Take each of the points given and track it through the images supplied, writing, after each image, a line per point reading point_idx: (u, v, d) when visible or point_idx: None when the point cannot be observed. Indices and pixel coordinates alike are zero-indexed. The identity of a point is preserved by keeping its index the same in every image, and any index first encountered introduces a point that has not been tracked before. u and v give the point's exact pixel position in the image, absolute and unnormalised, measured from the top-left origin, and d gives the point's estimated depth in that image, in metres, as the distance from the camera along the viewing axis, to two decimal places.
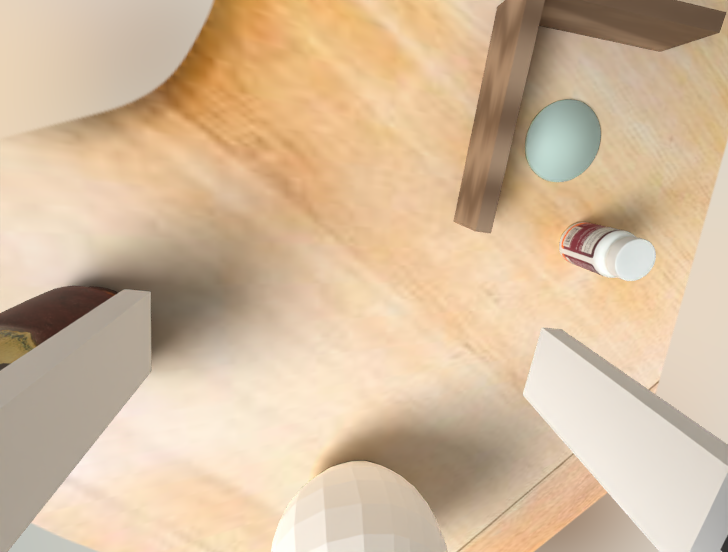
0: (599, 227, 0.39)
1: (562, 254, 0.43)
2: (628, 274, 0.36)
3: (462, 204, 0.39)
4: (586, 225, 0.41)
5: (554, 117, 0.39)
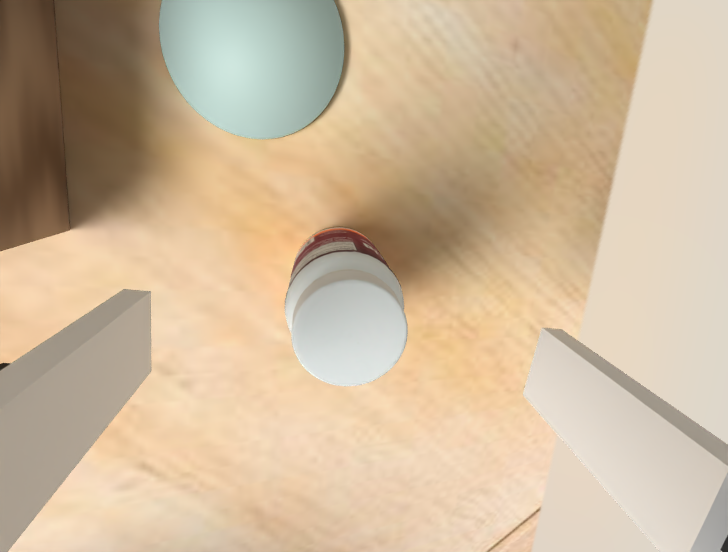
0: (329, 241, 0.17)
1: None
2: (337, 371, 0.13)
3: None
4: (324, 235, 0.18)
5: None
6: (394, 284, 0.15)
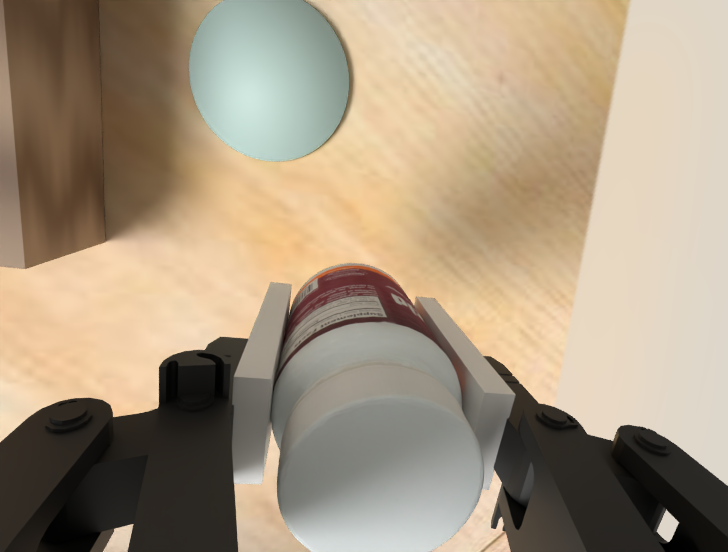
0: (341, 294, 0.11)
1: None
2: (359, 546, 0.08)
3: None
4: (333, 279, 0.13)
5: (239, 28, 0.19)
6: (449, 375, 0.09)
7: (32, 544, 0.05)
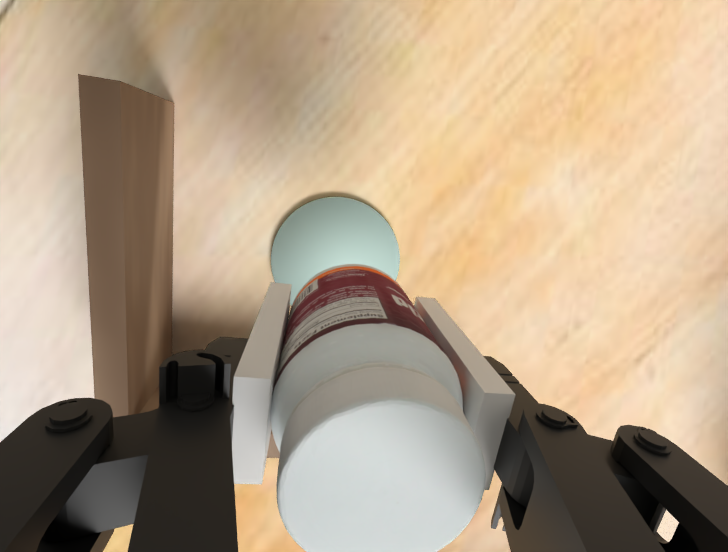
0: (341, 295, 0.11)
1: None
2: (360, 550, 0.08)
3: None
4: (333, 280, 0.13)
5: (300, 284, 0.24)
6: (450, 377, 0.09)
7: (31, 544, 0.05)
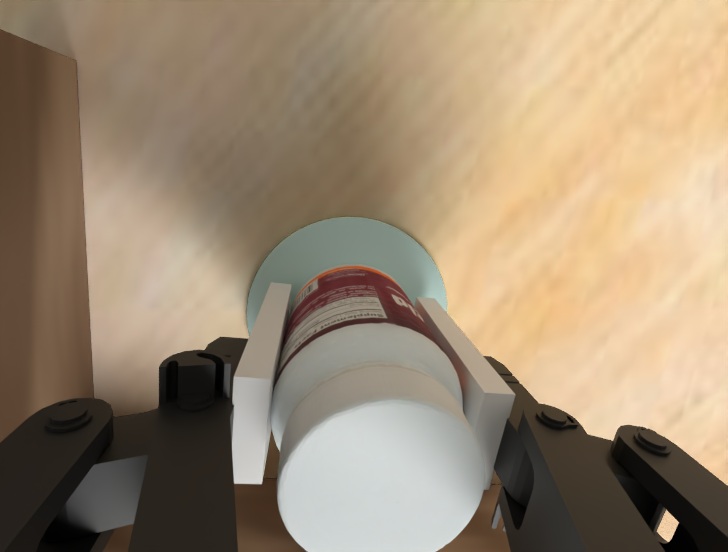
0: (341, 295, 0.11)
1: None
2: (359, 549, 0.08)
3: None
4: (333, 279, 0.13)
5: None
6: (450, 376, 0.09)
7: (31, 544, 0.05)
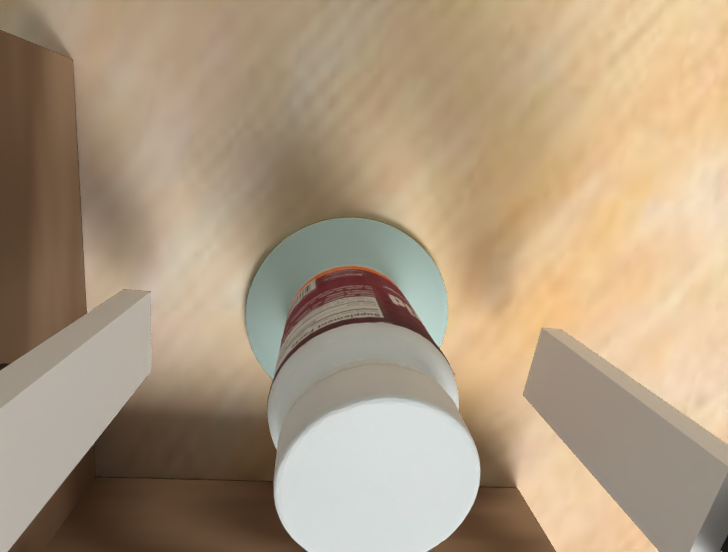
0: (339, 295, 0.11)
1: None
2: (356, 546, 0.08)
3: None
4: (331, 280, 0.13)
5: None
6: (446, 375, 0.09)
7: None
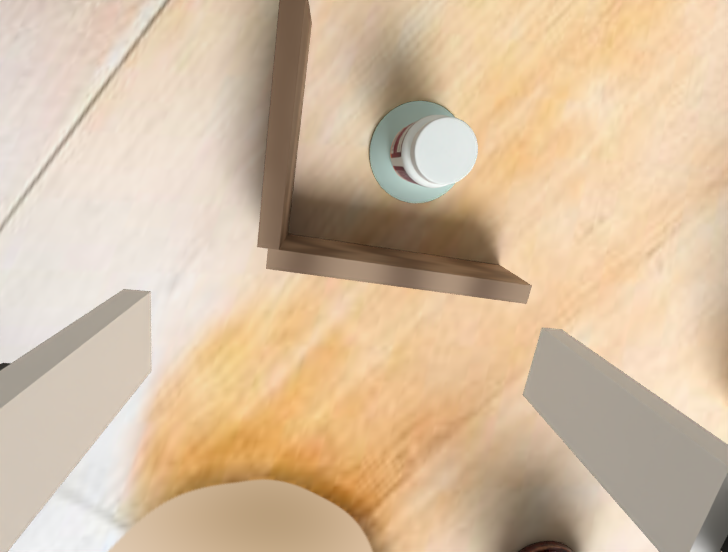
0: None
1: None
2: (437, 173, 0.24)
3: None
4: None
5: (390, 170, 0.32)
6: None
7: None
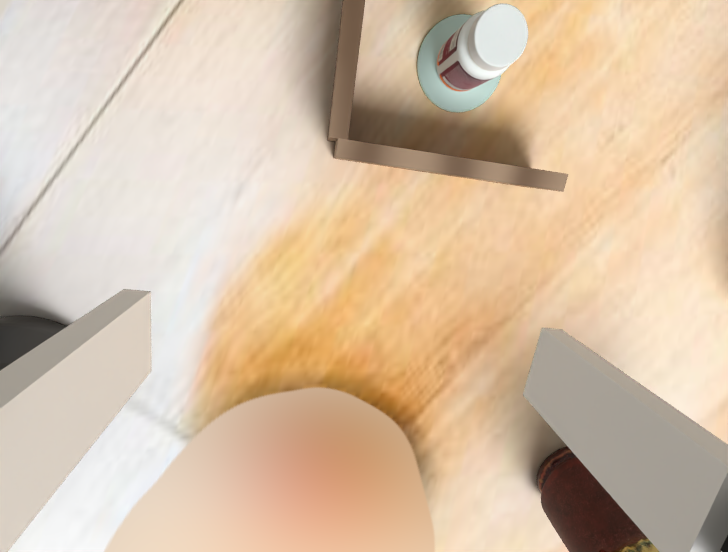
0: None
1: (440, 76, 0.35)
2: (493, 56, 0.28)
3: (517, 185, 0.38)
4: None
5: (435, 80, 0.36)
6: None
7: None
